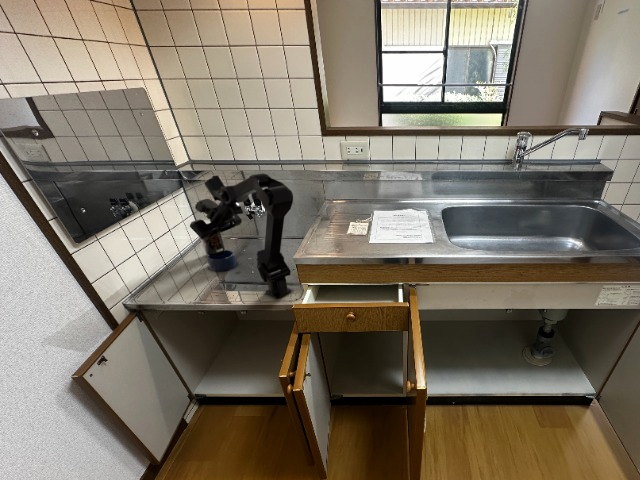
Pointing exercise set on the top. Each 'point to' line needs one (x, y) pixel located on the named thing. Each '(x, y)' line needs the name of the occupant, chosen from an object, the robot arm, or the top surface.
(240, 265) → the top surface
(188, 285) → the top surface
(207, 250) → the supplement container
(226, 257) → the blue rimmed bowl
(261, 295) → the top surface
